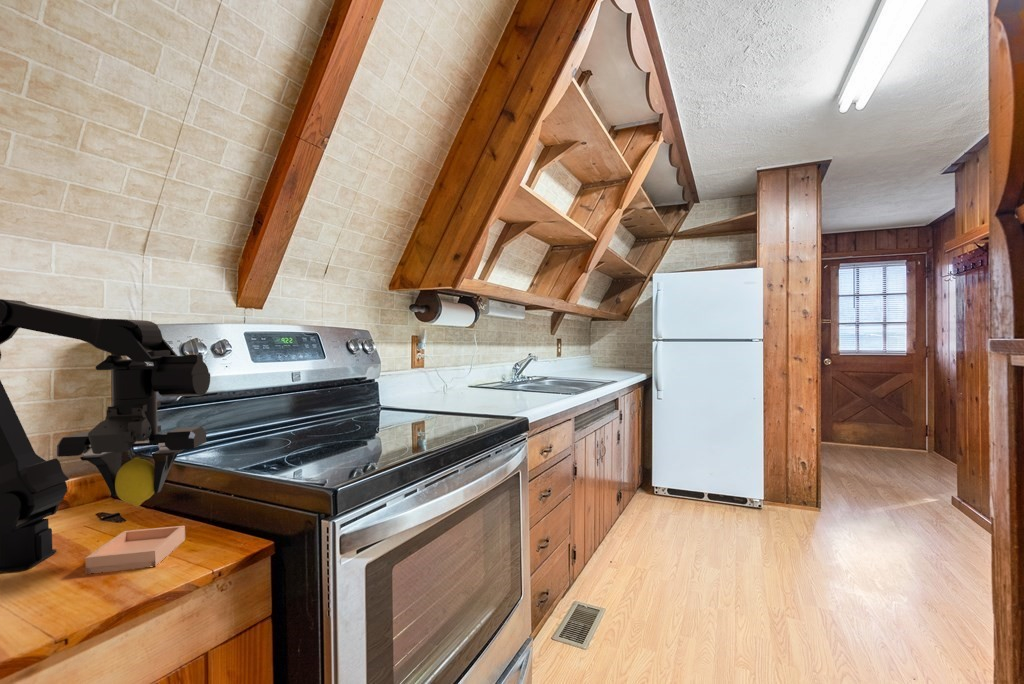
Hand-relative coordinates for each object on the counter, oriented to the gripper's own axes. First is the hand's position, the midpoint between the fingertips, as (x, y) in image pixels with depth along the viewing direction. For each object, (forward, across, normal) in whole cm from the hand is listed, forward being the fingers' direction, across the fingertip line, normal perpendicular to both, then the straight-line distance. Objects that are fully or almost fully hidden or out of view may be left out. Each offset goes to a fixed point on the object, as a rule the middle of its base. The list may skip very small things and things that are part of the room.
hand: (136, 494), depth 79 cm
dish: (+10, 0, 0) cm, 10 cm away
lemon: (+2, 0, 0) cm, 2 cm away
